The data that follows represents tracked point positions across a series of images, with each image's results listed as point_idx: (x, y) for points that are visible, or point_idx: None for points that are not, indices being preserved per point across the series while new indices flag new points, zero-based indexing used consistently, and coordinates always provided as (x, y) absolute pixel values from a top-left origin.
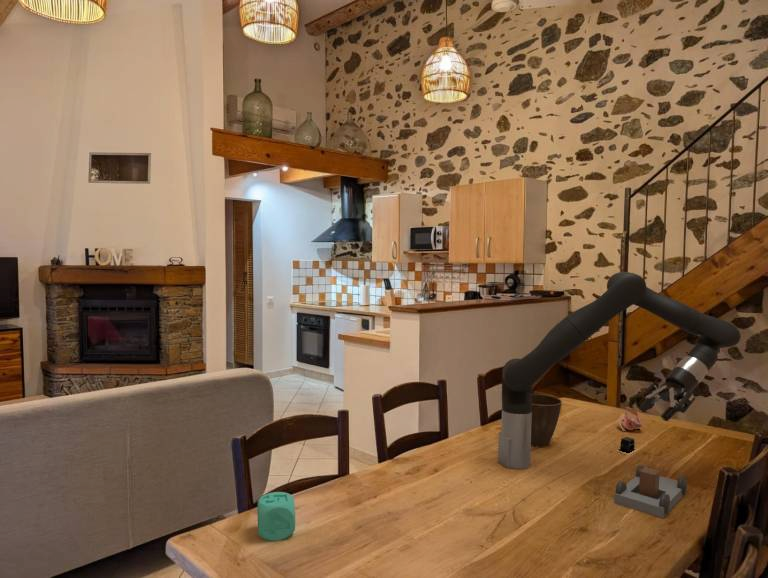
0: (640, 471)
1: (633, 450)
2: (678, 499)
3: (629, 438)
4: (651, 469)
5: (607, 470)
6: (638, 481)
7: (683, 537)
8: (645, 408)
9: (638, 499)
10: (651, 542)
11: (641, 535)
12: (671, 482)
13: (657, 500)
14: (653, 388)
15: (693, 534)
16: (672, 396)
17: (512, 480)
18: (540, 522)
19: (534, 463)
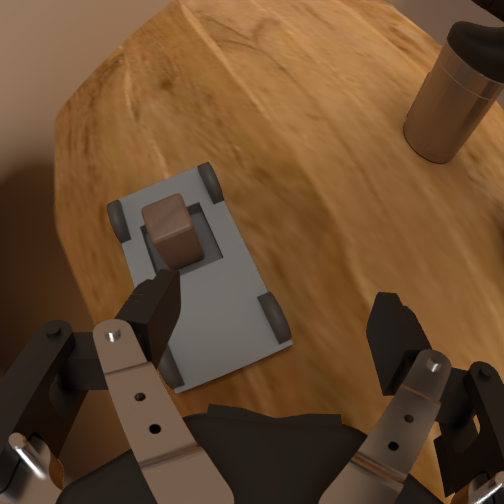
0: (177, 193)
1: (448, 471)
2: None
3: None
4: (167, 226)
5: (370, 301)
6: (237, 270)
7: (67, 192)
8: (375, 334)
9: (162, 188)
10: (89, 139)
11: (107, 139)
12: (196, 355)
13: (138, 222)
14: (491, 464)
15: (62, 215)
16: (128, 394)
17: (356, 92)
18: (210, 56)
19: (431, 171)
